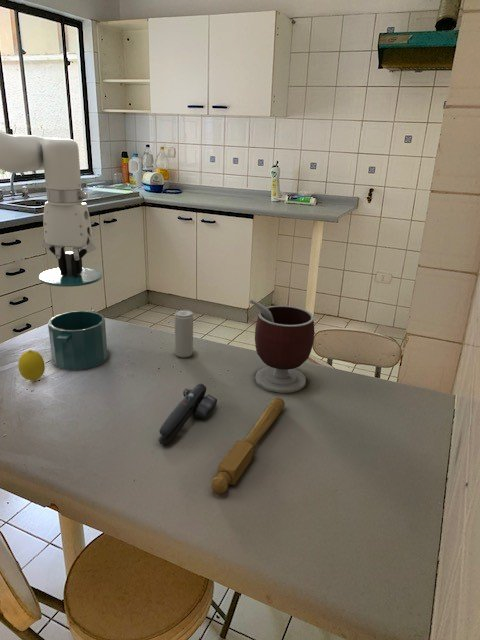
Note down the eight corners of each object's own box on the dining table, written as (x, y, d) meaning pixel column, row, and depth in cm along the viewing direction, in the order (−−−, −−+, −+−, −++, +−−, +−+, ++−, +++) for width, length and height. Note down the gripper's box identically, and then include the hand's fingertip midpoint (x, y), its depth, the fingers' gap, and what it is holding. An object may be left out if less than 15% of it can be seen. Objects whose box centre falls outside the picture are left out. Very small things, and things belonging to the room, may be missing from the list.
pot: (38, 373, 112) (32, 333, 108) (70, 341, 129) (66, 305, 125) (92, 377, 111) (89, 337, 107) (117, 344, 128) (115, 308, 124)
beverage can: (171, 354, 124) (170, 313, 119) (183, 348, 127) (183, 308, 123) (184, 360, 121) (184, 317, 117) (196, 353, 125) (197, 312, 120)
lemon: (27, 389, 105) (22, 358, 102) (16, 380, 108) (11, 350, 105) (51, 381, 109) (47, 350, 106) (39, 372, 112) (35, 343, 109)
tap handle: (286, 398, 100) (224, 485, 75) (285, 410, 101) (223, 500, 76) (273, 394, 101) (207, 479, 76) (272, 406, 102) (207, 493, 77)
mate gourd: (309, 369, 119) (318, 296, 111) (307, 397, 106) (316, 317, 99) (250, 362, 121) (254, 290, 114) (241, 389, 109) (245, 310, 101)
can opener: (193, 398, 104) (193, 376, 102) (220, 406, 101) (221, 384, 99) (145, 441, 89) (144, 416, 87) (175, 452, 87) (175, 427, 84)
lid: (28, 286, 106) (24, 258, 104) (55, 269, 120) (53, 243, 117) (89, 291, 106) (87, 262, 103) (110, 273, 119) (109, 247, 116)
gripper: (105, 196, 108) (109, 272, 115) (37, 192, 109) (46, 267, 116) (93, 201, 101) (98, 281, 108) (21, 196, 102) (31, 276, 109)
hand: (71, 273), depth 112 cm, fingers closed on lid, 2 cm apart
